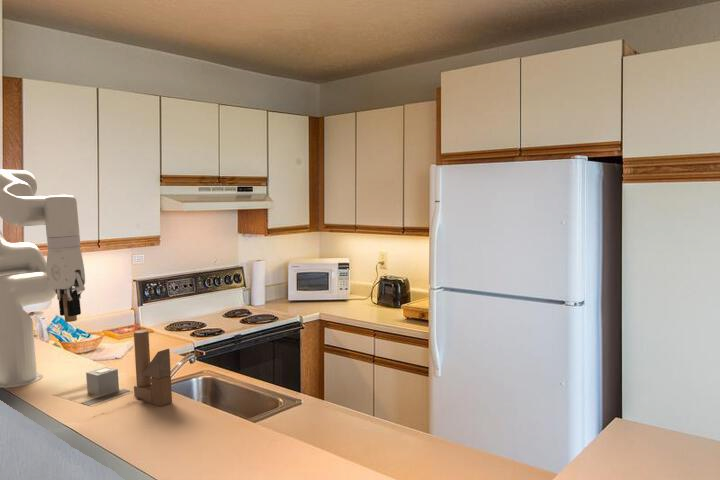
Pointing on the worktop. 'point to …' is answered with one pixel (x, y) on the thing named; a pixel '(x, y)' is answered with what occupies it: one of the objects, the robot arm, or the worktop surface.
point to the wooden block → (151, 372)
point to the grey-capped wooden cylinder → (65, 299)
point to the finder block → (102, 381)
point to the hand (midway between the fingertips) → (70, 314)
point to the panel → (90, 395)
